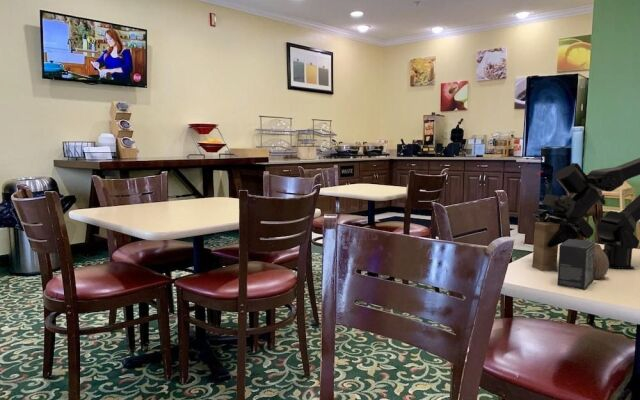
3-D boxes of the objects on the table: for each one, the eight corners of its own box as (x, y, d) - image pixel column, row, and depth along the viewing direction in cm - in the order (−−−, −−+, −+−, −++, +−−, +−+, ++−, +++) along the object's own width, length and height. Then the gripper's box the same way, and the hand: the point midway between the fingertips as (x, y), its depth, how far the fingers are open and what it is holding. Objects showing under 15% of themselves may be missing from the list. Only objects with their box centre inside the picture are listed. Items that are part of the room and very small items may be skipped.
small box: (565, 276, 123) (567, 237, 122) (593, 281, 119) (596, 241, 118) (555, 285, 115) (558, 243, 114) (585, 290, 111) (588, 247, 110)
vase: (573, 273, 127) (575, 241, 126) (600, 274, 126) (603, 242, 125) (584, 280, 120) (586, 246, 119) (612, 281, 119) (615, 247, 118)
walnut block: (546, 266, 134) (549, 222, 132) (556, 270, 129) (559, 224, 128) (532, 267, 133) (535, 222, 132) (542, 271, 129) (545, 224, 127)
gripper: (540, 182, 139) (504, 219, 138) (587, 187, 120) (546, 230, 119) (562, 208, 141) (527, 245, 140) (611, 217, 122) (571, 259, 122)
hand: (541, 244), depth 130 cm, fingers open, 6 cm apart
